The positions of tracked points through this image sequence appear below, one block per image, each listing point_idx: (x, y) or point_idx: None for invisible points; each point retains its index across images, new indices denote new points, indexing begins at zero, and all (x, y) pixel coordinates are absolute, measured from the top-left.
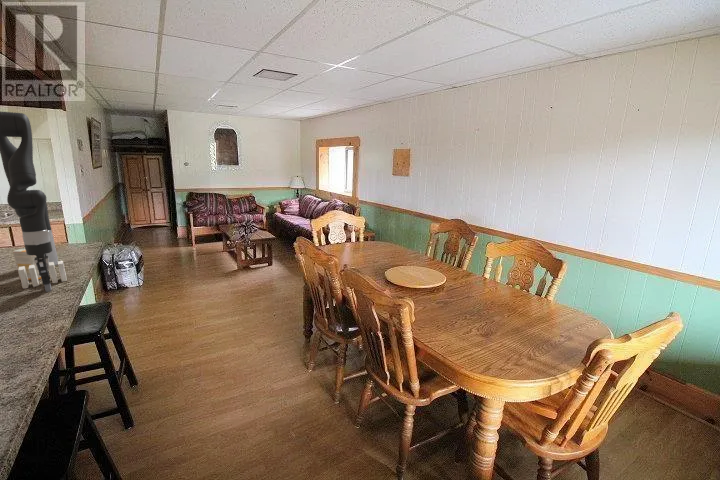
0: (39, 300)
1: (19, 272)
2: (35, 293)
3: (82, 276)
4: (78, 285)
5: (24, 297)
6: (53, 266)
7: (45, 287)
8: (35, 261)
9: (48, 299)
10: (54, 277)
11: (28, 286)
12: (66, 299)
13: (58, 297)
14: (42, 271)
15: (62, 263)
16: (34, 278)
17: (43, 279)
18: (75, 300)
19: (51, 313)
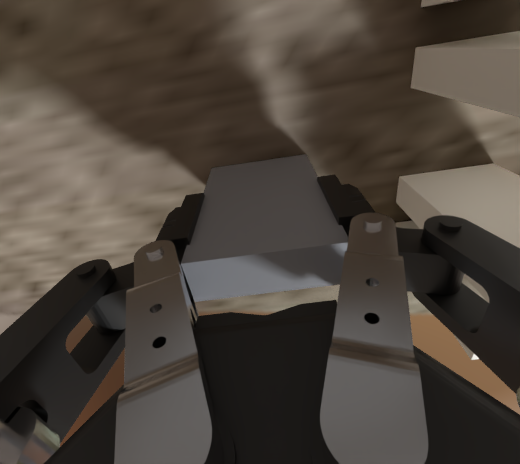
0: (43, 159)
1: None
2: (213, 103)
3: (416, 300)
4: (254, 301)
5: (142, 34)
6: (481, 290)
7: (207, 186)
8: (123, 441)
9: (52, 205)
10: (419, 213)
11: (452, 1)
12: (34, 281)
13: (77, 246)
14: (266, 259)
15: (474, 357)
16: (457, 81)
17: (160, 234)
18: (12, 313)
19: None
